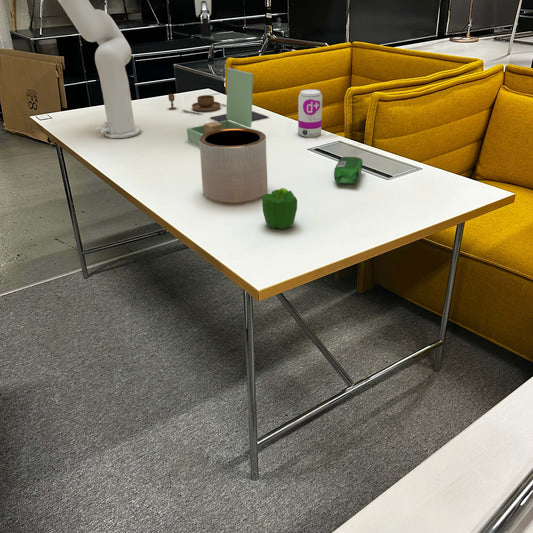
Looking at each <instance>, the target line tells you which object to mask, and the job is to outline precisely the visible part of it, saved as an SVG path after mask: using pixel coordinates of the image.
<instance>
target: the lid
mask: <svg viewBox="0 0 533 533" xmlns="http://www.w3.org/2000/svg"><path fill="white" fill-rule="evenodd" d="M253 93H254V73H250V72H247V71H242V70H239V69H235V68H231V67H227V68H226V111H225V112H226V113H225V114H226V119H228V121H231V122H233V123H236V124H239V125H241V126H244V127H247V128H249V129H251V128H252V122H253V121H252V111H253Z"/></svg>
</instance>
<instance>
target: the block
mask: <svg viewBox="0 0 533 533" xmlns="http://www.w3.org/2000/svg"><path fill="white" fill-rule="evenodd" d="M218 122H219V121H211V122H205V123H204V124H203V125H204V127H205V133H207V132H210V131H213V130H217V129H222V124H220V123H218Z"/></svg>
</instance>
